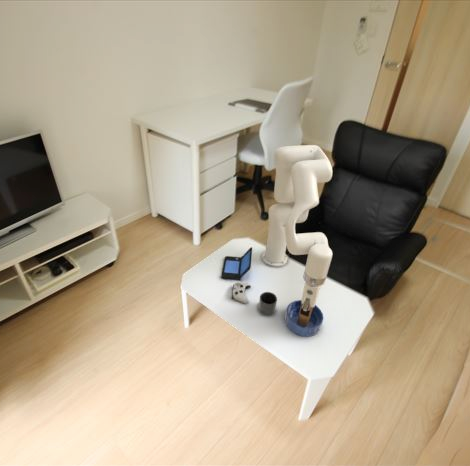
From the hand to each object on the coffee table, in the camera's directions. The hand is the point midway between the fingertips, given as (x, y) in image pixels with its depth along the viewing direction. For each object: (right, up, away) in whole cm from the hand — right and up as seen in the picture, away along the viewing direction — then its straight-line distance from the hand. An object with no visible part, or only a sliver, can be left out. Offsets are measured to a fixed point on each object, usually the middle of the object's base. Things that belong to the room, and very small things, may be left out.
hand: (306, 309), depth 122 cm
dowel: (0, -6, +5) cm, 8 cm away
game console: (-24, +12, +31) cm, 41 cm away
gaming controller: (-23, +2, +18) cm, 29 cm away
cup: (-13, -3, +11) cm, 17 cm away
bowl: (0, -6, +5) cm, 8 cm away
